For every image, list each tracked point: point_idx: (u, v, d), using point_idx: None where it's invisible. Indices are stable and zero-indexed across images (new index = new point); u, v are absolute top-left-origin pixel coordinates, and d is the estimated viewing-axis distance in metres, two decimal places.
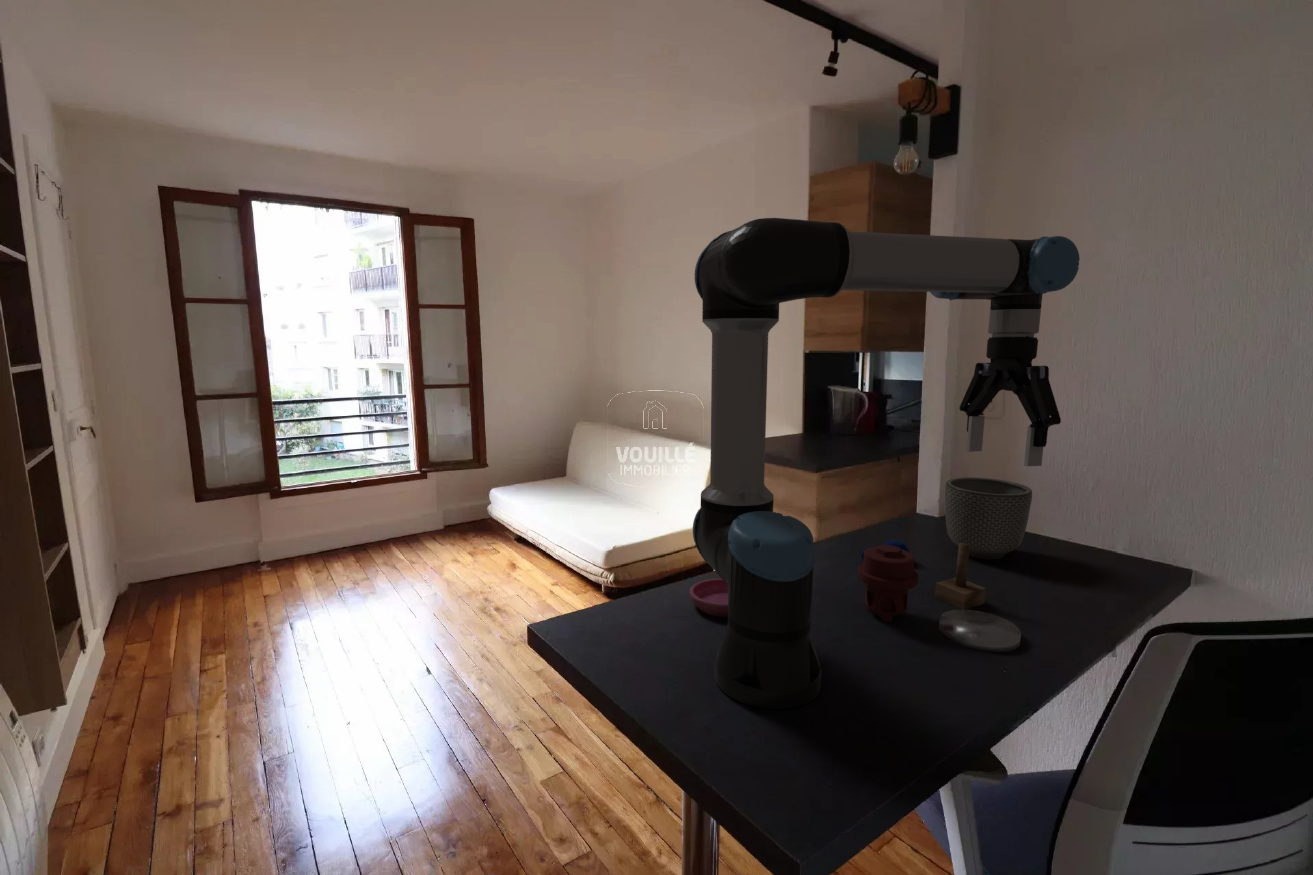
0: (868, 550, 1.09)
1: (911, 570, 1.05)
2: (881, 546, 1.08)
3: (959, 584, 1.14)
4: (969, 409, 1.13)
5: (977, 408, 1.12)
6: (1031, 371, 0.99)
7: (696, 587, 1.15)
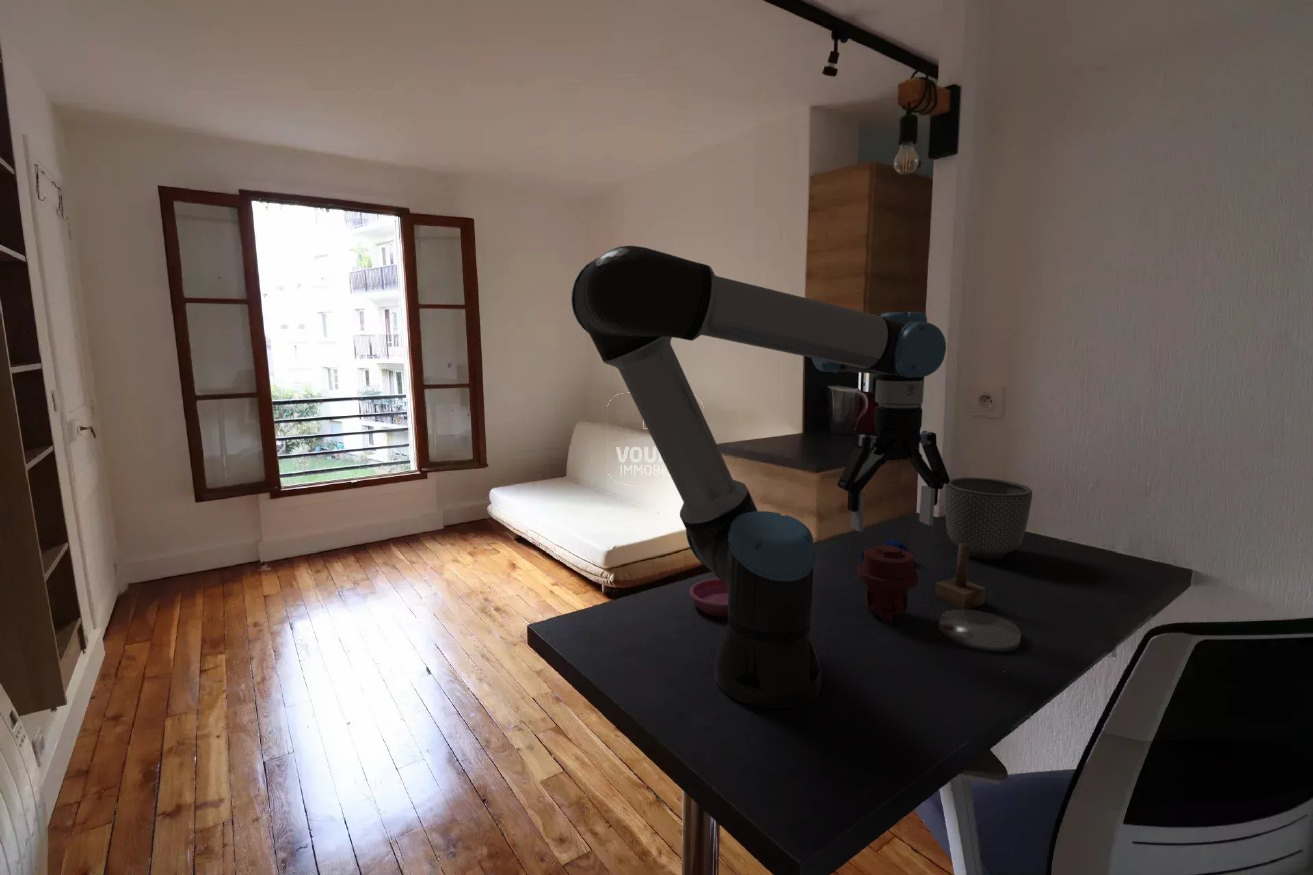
0: (868, 550, 1.09)
1: (911, 570, 1.05)
2: (881, 546, 1.08)
3: (959, 584, 1.14)
4: None
5: (923, 478, 1.07)
6: None
7: (696, 587, 1.15)
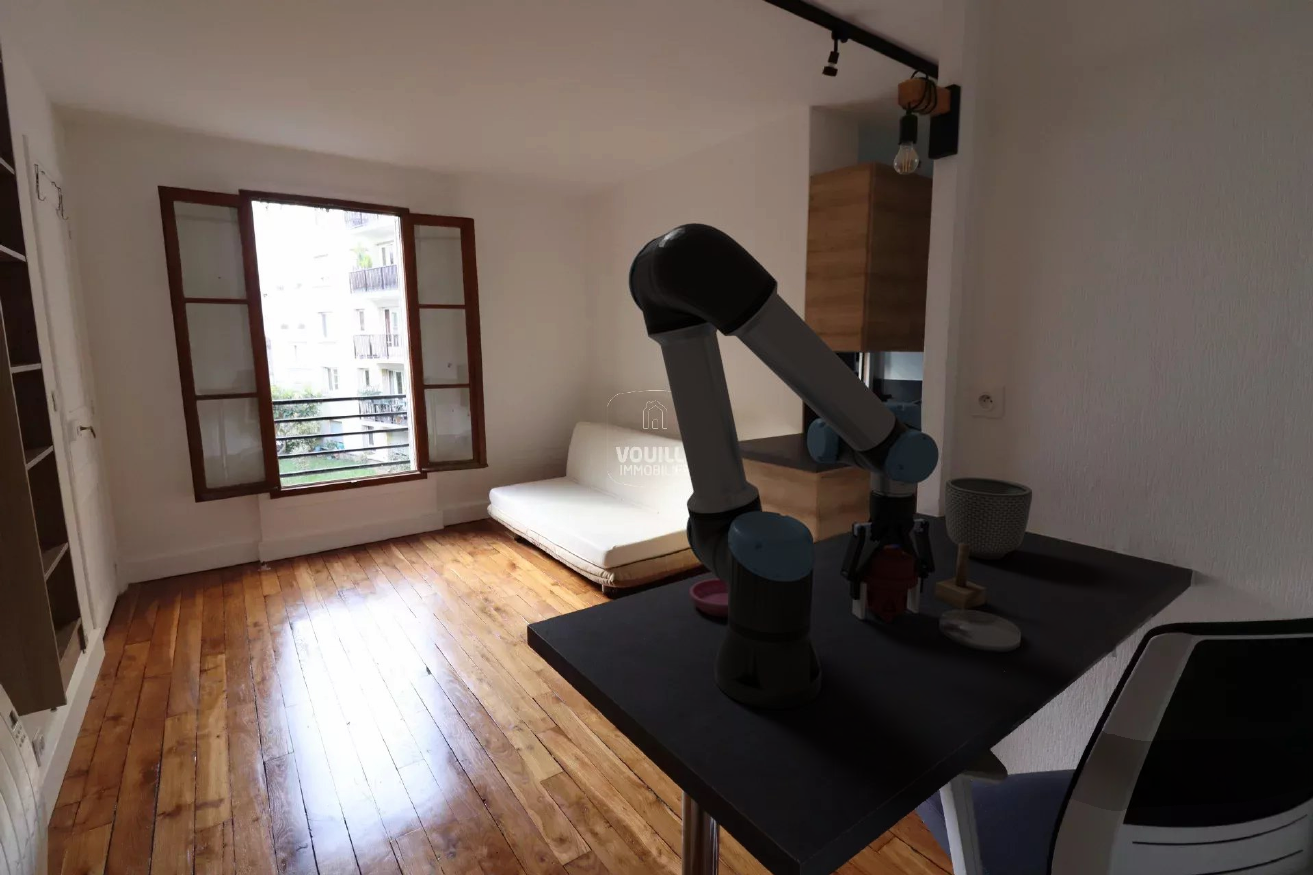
0: None
1: (911, 570, 1.05)
2: None
3: (959, 584, 1.14)
4: None
5: None
6: None
7: (696, 587, 1.15)
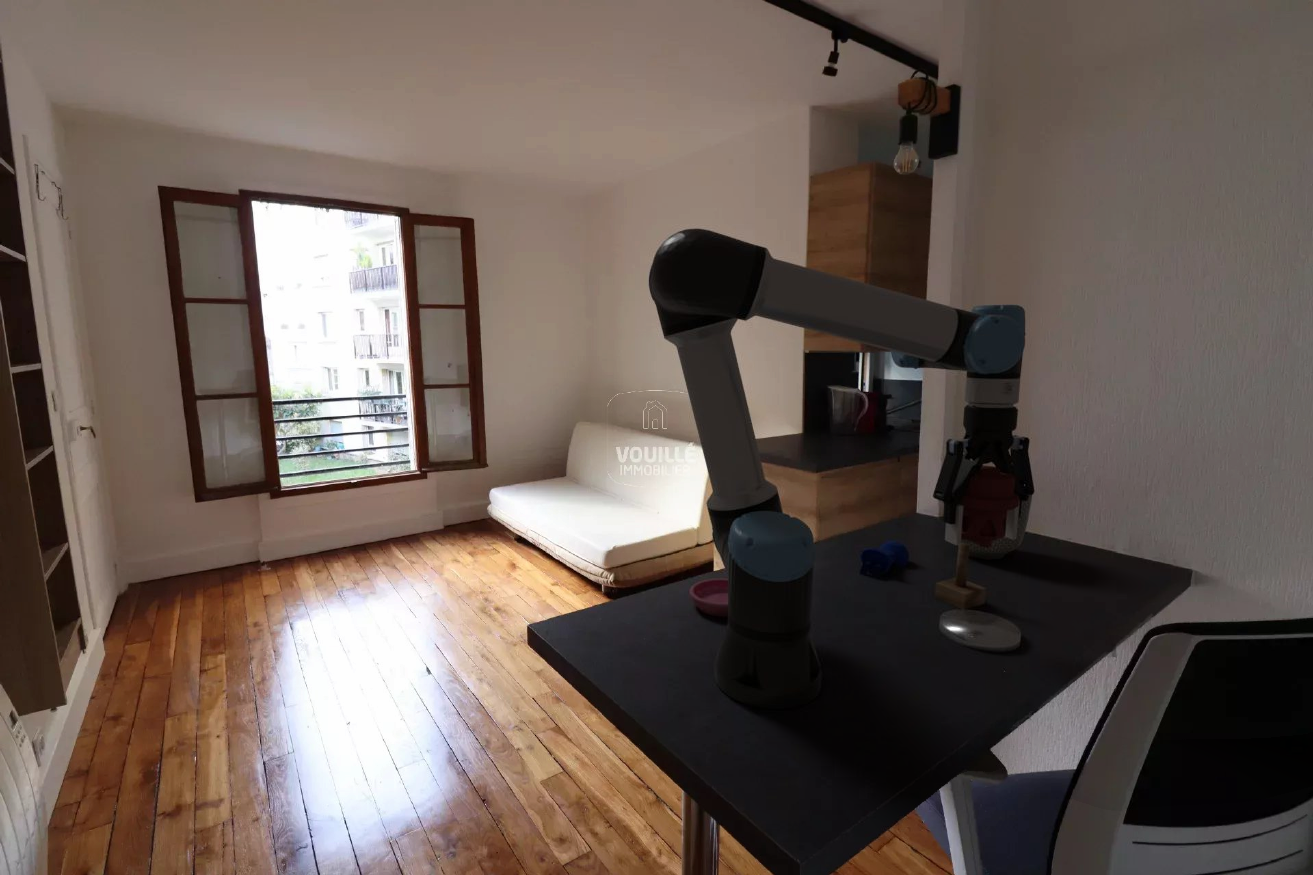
0: None
1: (1013, 489, 0.96)
2: None
3: (959, 584, 1.14)
4: None
5: None
6: None
7: (696, 587, 1.15)
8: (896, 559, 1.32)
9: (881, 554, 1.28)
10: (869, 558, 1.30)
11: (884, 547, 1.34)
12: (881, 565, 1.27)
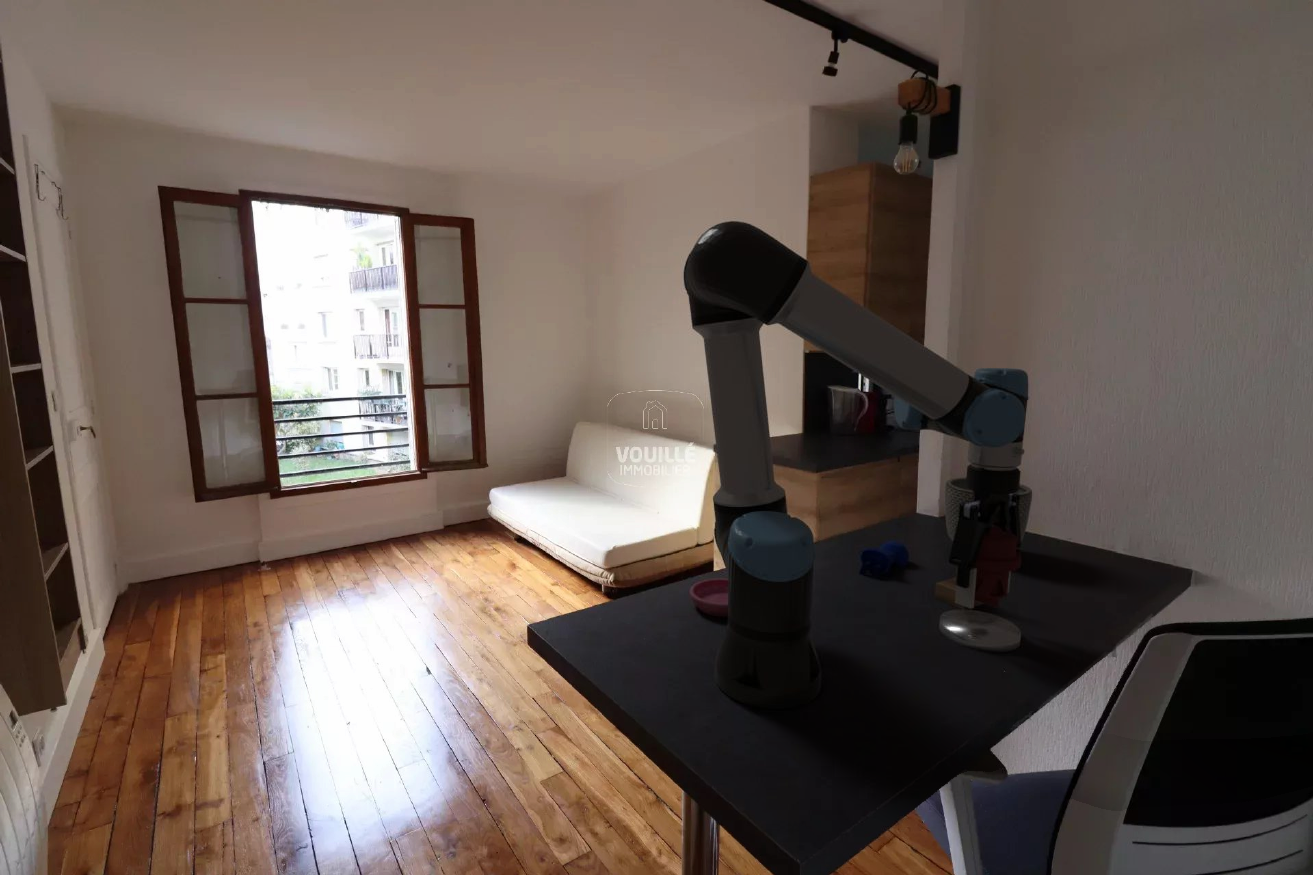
0: None
1: None
2: None
3: None
4: None
5: None
6: None
7: (696, 587, 1.15)
8: (896, 559, 1.32)
9: (881, 554, 1.27)
10: (869, 558, 1.30)
11: (884, 547, 1.34)
12: (881, 565, 1.27)
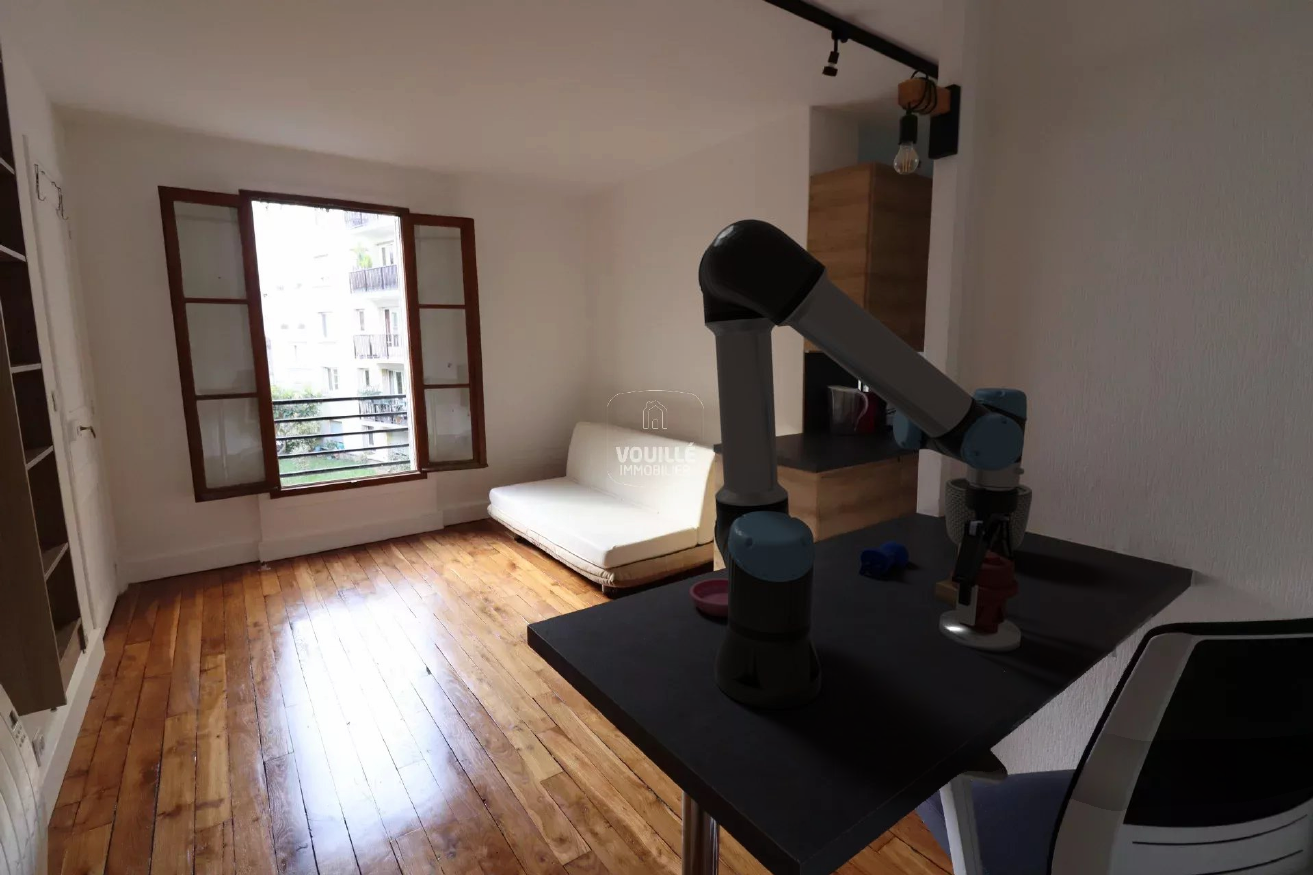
0: None
1: None
2: None
3: None
4: None
5: None
6: None
7: (696, 587, 1.15)
8: (896, 560, 1.32)
9: (881, 555, 1.27)
10: (868, 558, 1.29)
11: (884, 548, 1.34)
12: (880, 566, 1.26)
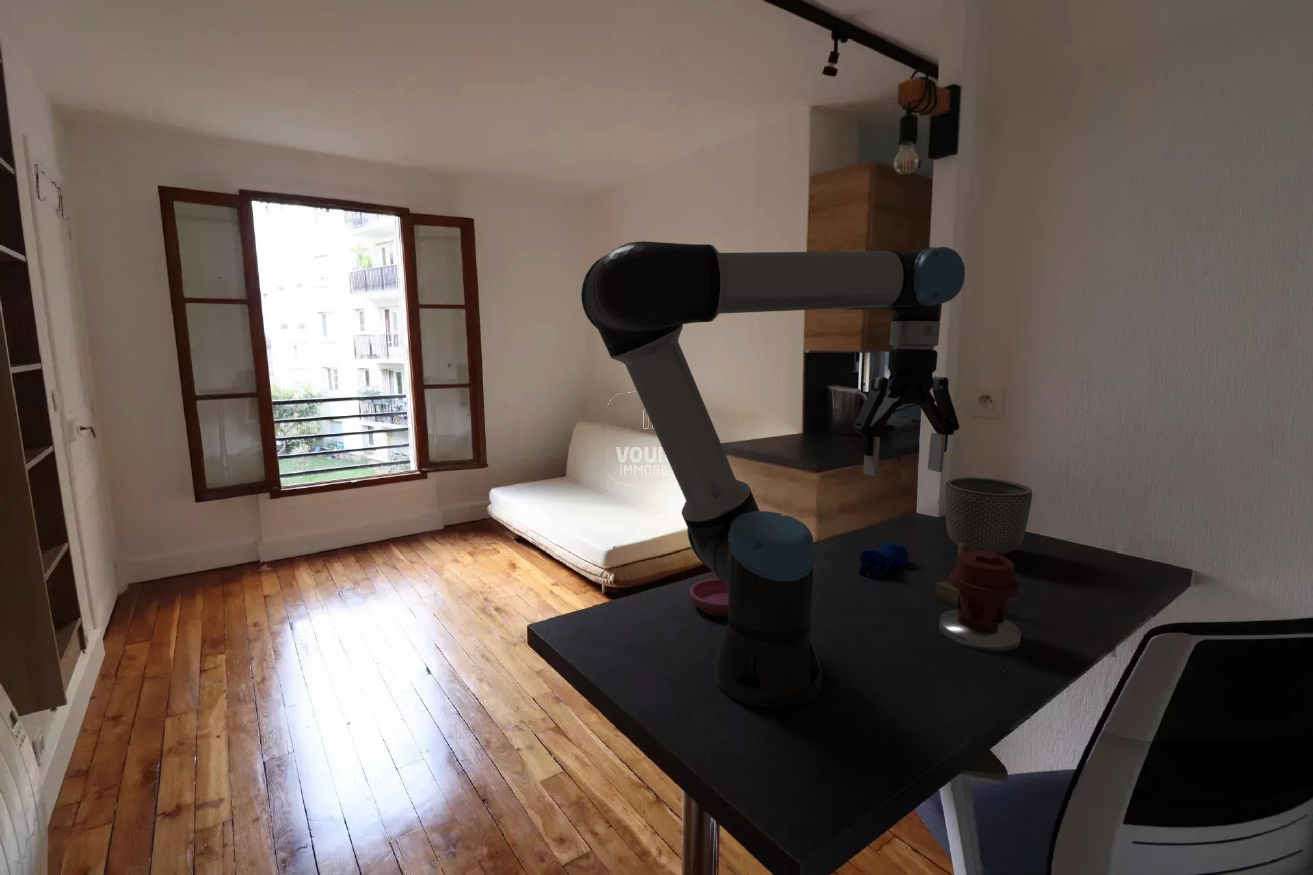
0: (964, 559, 1.00)
1: None
2: (976, 553, 1.01)
3: None
4: None
5: (933, 424, 1.06)
6: None
7: (696, 587, 1.15)
8: (895, 560, 1.32)
9: (880, 555, 1.27)
10: (868, 559, 1.29)
11: (884, 548, 1.34)
12: (880, 566, 1.26)
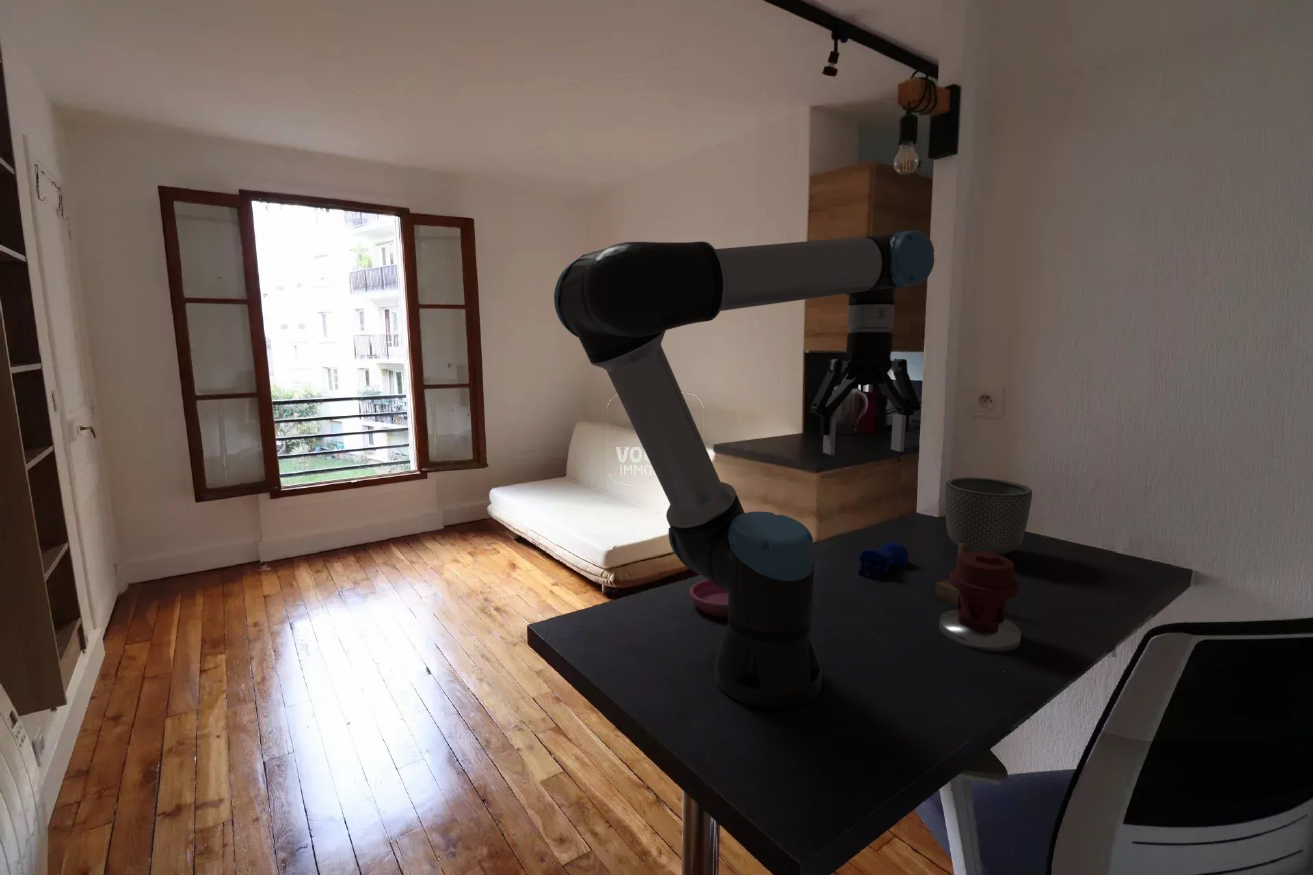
0: (964, 559, 1.00)
1: None
2: (976, 553, 1.01)
3: None
4: None
5: (895, 405, 1.10)
6: None
7: (696, 587, 1.15)
8: (895, 560, 1.31)
9: (880, 555, 1.27)
10: (868, 559, 1.29)
11: (883, 548, 1.34)
12: (880, 566, 1.26)
